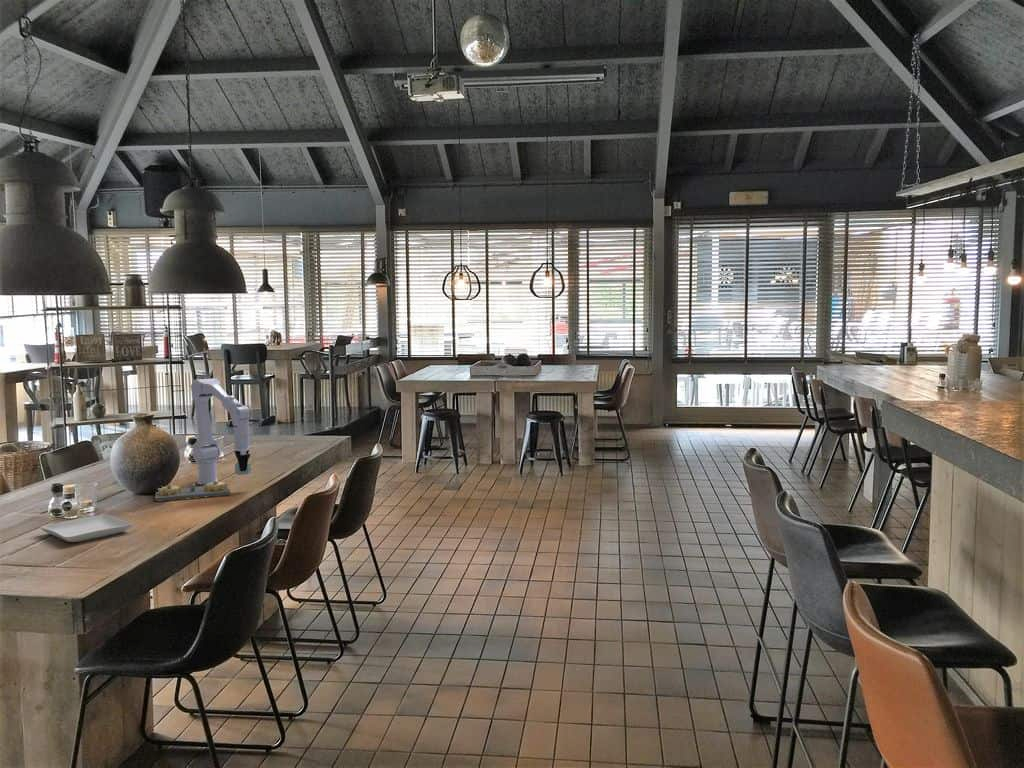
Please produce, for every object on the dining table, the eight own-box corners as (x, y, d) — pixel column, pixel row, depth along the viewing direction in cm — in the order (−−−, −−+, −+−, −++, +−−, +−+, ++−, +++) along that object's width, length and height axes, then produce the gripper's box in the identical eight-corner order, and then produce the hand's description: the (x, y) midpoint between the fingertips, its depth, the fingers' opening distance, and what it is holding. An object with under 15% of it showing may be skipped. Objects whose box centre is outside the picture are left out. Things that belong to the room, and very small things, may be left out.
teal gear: (235, 472, 326) (234, 462, 325) (250, 471, 328) (249, 461, 327) (235, 475, 320) (235, 465, 320) (251, 474, 322) (250, 464, 322)
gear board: (156, 493, 319) (155, 481, 318) (228, 487, 329) (227, 475, 328) (155, 501, 306) (154, 489, 305) (230, 495, 316) (229, 482, 316)
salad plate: (105, 522, 279) (104, 512, 279) (134, 533, 266) (134, 523, 266) (39, 535, 263) (38, 525, 263) (66, 548, 250) (66, 537, 249)
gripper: (253, 438, 317) (254, 472, 319) (250, 432, 331) (251, 465, 332) (234, 439, 315) (235, 473, 316) (232, 433, 328) (233, 466, 329)
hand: (242, 469), depth 324 cm, fingers closed on teal gear, 6 cm apart
